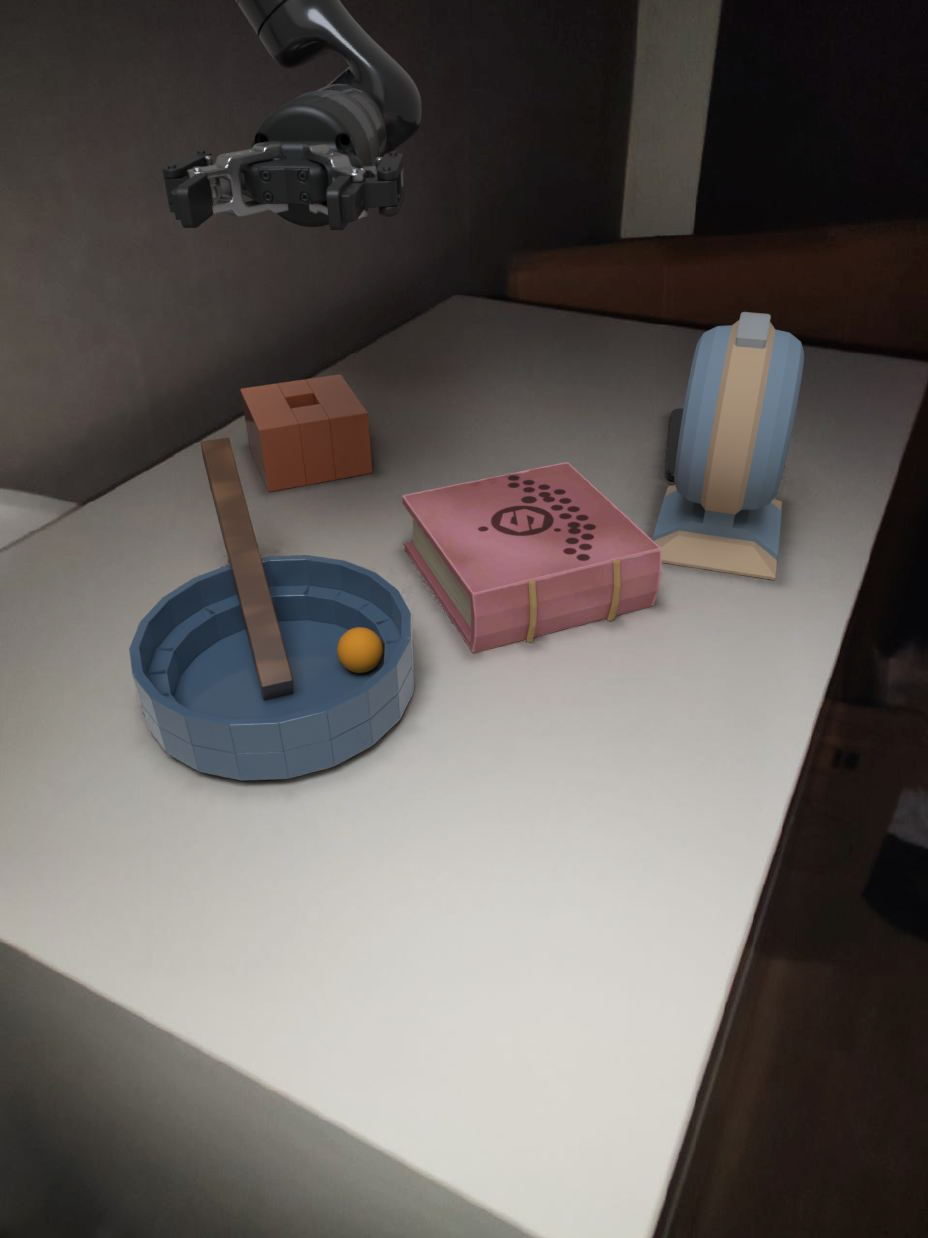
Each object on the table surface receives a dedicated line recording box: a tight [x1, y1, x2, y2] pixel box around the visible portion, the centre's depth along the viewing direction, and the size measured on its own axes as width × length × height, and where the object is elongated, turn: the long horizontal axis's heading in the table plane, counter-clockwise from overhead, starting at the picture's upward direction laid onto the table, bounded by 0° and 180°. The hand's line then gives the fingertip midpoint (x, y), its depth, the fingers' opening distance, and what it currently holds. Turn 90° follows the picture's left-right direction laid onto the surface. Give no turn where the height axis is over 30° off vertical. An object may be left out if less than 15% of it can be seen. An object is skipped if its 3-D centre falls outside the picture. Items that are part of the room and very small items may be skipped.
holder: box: [239, 373, 373, 493], centre depth 85 cm, size 10×10×6 cm
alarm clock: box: [651, 311, 805, 581], centre depth 70 cm, size 14×10×18 cm
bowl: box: [128, 554, 415, 781], centre depth 59 cm, size 17×17×5 cm
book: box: [401, 461, 663, 654], centre depth 69 cm, size 14×15×5 cm
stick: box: [200, 437, 294, 700], centre depth 62 cm, size 2×2×20 cm
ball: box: [337, 627, 383, 673], centre depth 60 cm, size 3×3×3 cm
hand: (259, 210), depth 51 cm, fingers open, 8 cm apart
